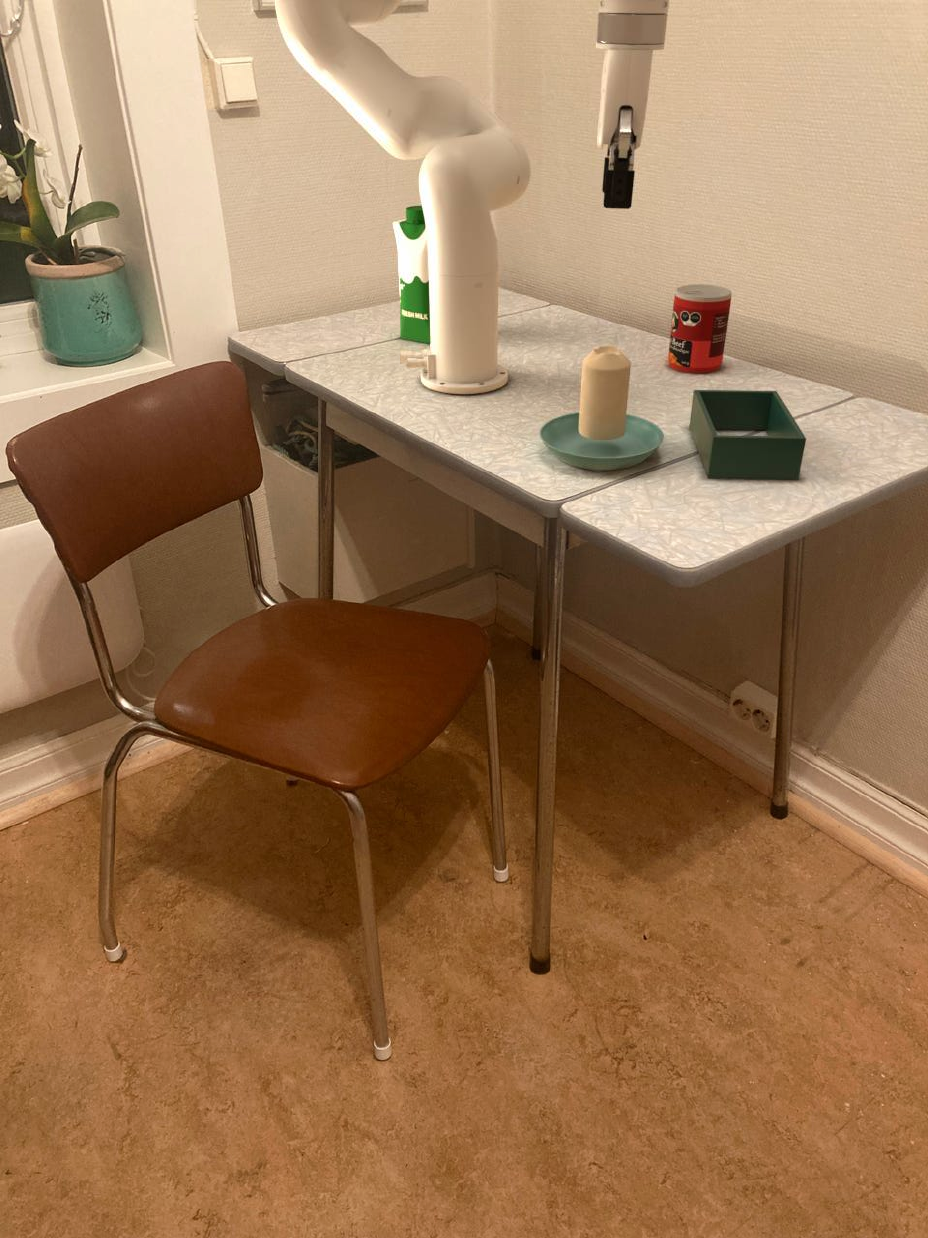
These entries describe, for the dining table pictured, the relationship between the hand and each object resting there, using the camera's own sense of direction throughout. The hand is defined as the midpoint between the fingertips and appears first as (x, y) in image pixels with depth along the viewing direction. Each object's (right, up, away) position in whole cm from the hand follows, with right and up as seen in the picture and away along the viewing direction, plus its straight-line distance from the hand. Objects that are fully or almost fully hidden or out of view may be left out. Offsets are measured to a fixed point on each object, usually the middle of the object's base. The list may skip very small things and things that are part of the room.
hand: (615, 200), depth 115 cm
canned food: (+16, -12, +29) cm, 35 cm away
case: (+15, -30, +1) cm, 34 cm away
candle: (-2, -28, 0) cm, 28 cm away
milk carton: (-24, -4, +43) cm, 49 cm away
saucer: (-2, -30, +1) cm, 30 cm away
